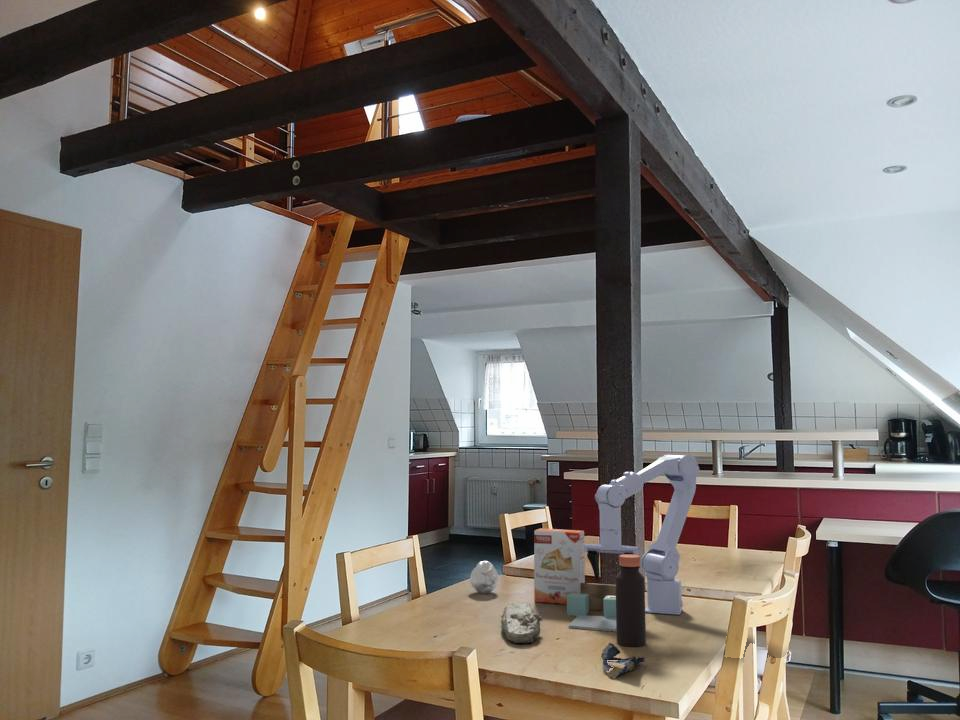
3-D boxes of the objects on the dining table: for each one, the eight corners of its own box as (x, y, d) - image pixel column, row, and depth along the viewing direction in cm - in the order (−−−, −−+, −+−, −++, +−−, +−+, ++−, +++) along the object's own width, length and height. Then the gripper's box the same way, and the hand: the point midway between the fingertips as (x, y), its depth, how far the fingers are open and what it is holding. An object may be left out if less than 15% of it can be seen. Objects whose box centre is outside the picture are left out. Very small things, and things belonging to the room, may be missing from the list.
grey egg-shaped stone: (466, 595, 227) (466, 562, 228) (473, 589, 236) (473, 557, 237) (495, 597, 225) (495, 563, 226) (501, 591, 234) (501, 558, 235)
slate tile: (623, 620, 195) (623, 618, 195) (616, 631, 184) (616, 629, 184) (578, 617, 199) (578, 614, 199) (568, 627, 188) (568, 625, 188)
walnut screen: (628, 610, 207) (628, 584, 208) (626, 613, 203) (625, 587, 204) (582, 606, 211) (582, 581, 212) (579, 609, 208) (579, 584, 208)
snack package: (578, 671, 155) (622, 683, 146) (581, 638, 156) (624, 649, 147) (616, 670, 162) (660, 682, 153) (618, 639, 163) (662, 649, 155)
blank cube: (588, 612, 205) (588, 594, 205) (585, 616, 200) (584, 597, 201) (571, 611, 206) (570, 592, 207) (567, 615, 202) (566, 596, 202)
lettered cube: (625, 615, 201) (624, 595, 202) (622, 619, 197) (622, 599, 197) (606, 614, 203) (606, 594, 204) (603, 618, 198) (603, 597, 199)
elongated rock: (536, 617, 206) (500, 619, 206) (535, 597, 207) (499, 599, 207) (545, 644, 172) (502, 646, 172) (544, 620, 172) (501, 623, 172)
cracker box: (533, 602, 217) (533, 529, 219) (539, 598, 223) (539, 527, 225) (580, 606, 212) (579, 532, 214) (585, 602, 217) (584, 529, 220)
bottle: (625, 637, 179) (623, 552, 181) (651, 642, 174) (649, 555, 176) (611, 643, 173) (609, 556, 176) (637, 648, 169) (635, 559, 171)
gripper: (580, 529, 201) (581, 581, 200) (634, 532, 196) (635, 585, 194) (587, 526, 208) (587, 576, 206) (639, 529, 202) (640, 580, 201)
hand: (611, 580), depth 201 cm, fingers open, 7 cm apart
